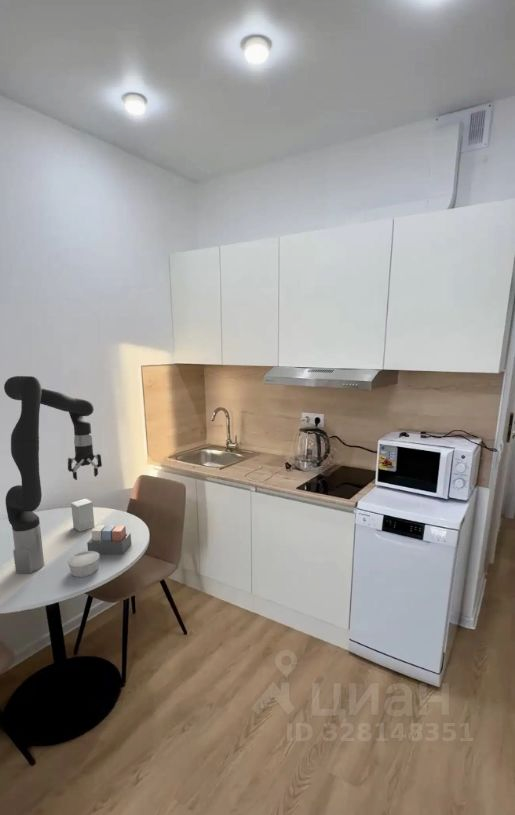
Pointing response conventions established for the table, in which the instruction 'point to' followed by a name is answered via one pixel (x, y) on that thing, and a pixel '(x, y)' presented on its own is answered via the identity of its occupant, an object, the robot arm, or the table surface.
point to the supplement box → (82, 514)
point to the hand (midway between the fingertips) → (85, 477)
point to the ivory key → (97, 533)
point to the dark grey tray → (110, 546)
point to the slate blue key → (107, 533)
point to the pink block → (119, 533)
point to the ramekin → (84, 563)
